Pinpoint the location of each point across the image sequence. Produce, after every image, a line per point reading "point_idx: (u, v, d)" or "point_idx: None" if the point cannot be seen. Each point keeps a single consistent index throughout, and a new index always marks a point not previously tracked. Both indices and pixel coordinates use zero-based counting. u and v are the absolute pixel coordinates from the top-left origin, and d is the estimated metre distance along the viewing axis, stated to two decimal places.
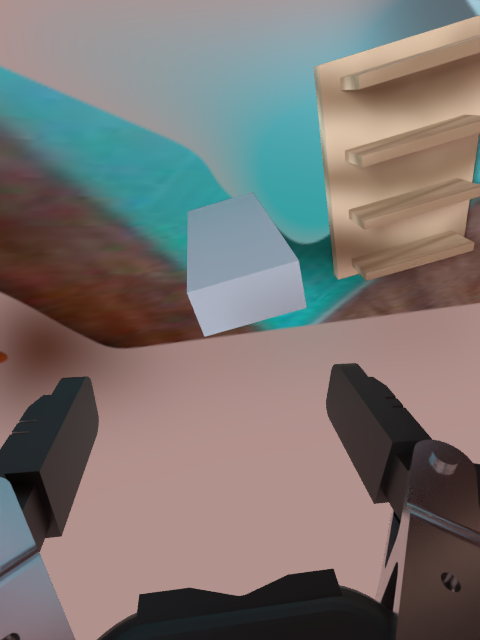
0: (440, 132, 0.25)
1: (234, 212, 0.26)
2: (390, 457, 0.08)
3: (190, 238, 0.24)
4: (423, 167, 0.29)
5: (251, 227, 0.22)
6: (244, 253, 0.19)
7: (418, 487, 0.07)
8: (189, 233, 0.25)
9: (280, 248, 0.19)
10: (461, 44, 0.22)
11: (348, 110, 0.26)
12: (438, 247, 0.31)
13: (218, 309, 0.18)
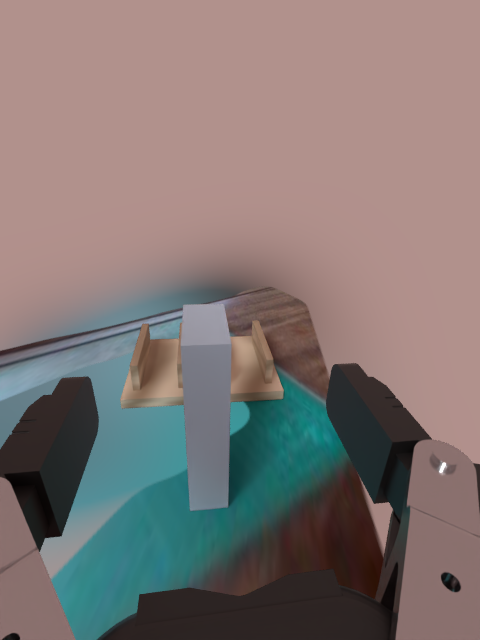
0: (179, 338, 0.42)
1: None
2: (390, 457, 0.08)
3: (186, 442, 0.23)
4: None
5: None
6: None
7: (418, 487, 0.07)
8: None
9: None
10: (139, 335, 0.42)
11: (154, 386, 0.38)
12: (255, 335, 0.44)
13: (205, 334, 0.21)
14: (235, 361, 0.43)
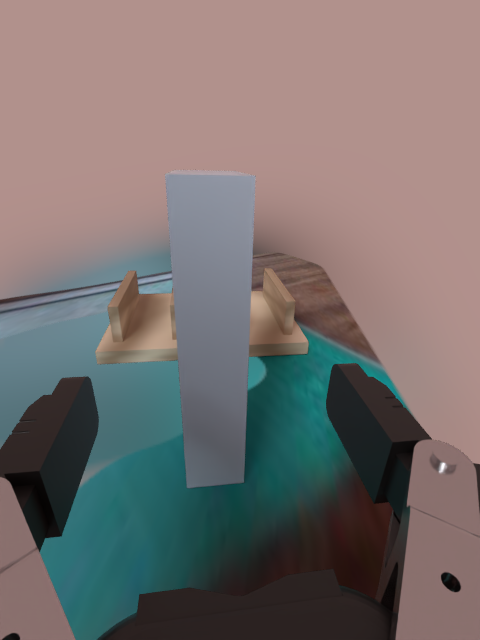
0: None
1: None
2: (390, 457, 0.08)
3: (179, 371, 0.14)
4: None
5: None
6: None
7: (418, 487, 0.07)
8: None
9: None
10: (123, 280, 0.33)
11: (141, 338, 0.29)
12: (268, 283, 0.36)
13: (209, 173, 0.12)
14: None
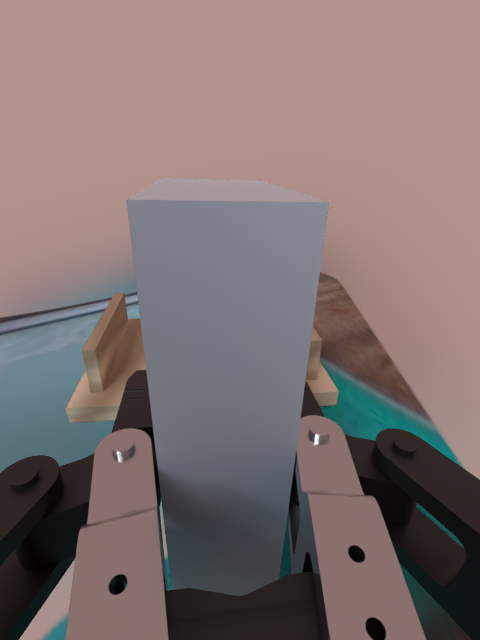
0: None
1: None
2: None
3: None
4: None
5: None
6: None
7: (306, 468, 0.07)
8: None
9: None
10: (107, 307, 0.27)
11: None
12: None
13: (224, 193, 0.06)
14: None
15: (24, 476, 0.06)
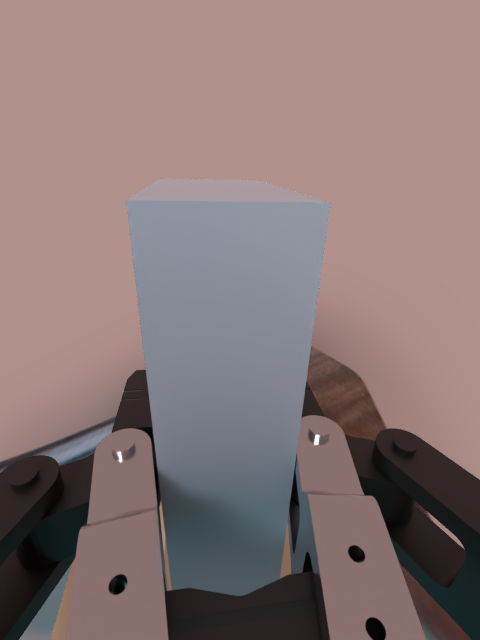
0: None
1: None
2: None
3: None
4: None
5: None
6: None
7: (306, 468, 0.07)
8: None
9: None
10: None
11: None
12: None
13: (224, 193, 0.06)
14: None
15: (24, 476, 0.07)
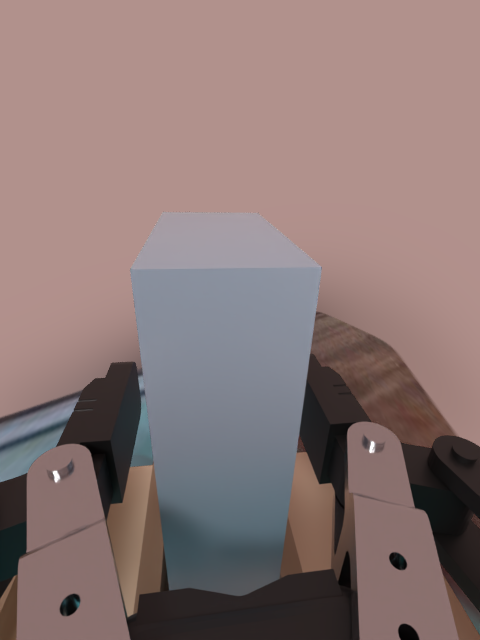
0: (146, 519, 0.14)
1: None
2: (330, 439, 0.09)
3: None
4: None
5: None
6: None
7: (356, 471, 0.07)
8: None
9: None
10: None
11: None
12: None
13: (223, 248, 0.06)
14: (311, 570, 0.15)
15: None
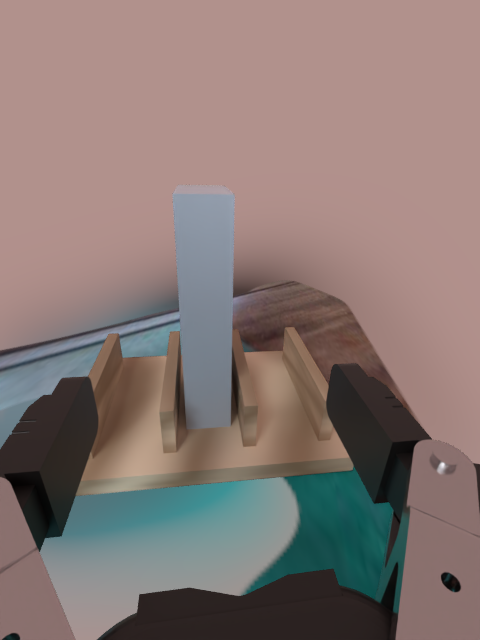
0: (167, 358, 0.25)
1: None
2: (390, 457, 0.08)
3: (181, 335, 0.20)
4: None
5: None
6: None
7: (418, 487, 0.07)
8: (182, 352, 0.20)
9: None
10: (99, 354, 0.25)
11: (119, 450, 0.21)
12: (292, 352, 0.27)
13: (203, 191, 0.17)
14: (260, 396, 0.26)
15: None
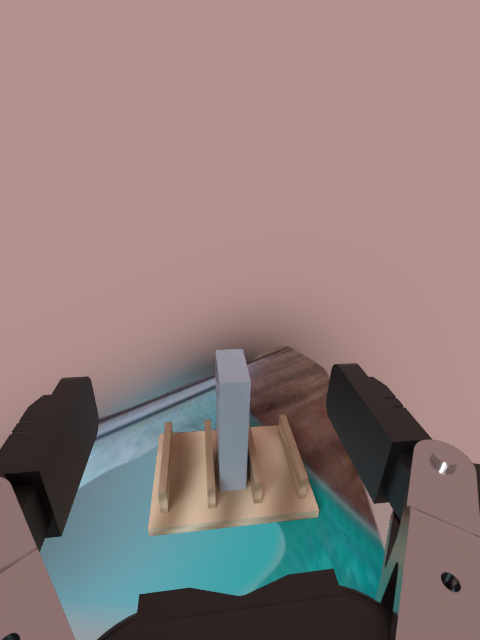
0: (205, 444, 0.40)
1: None
2: (390, 457, 0.08)
3: (219, 443, 0.35)
4: None
5: (216, 405, 0.38)
6: None
7: (418, 487, 0.07)
8: (219, 452, 0.35)
9: None
10: (163, 441, 0.40)
11: (182, 506, 0.36)
12: (284, 434, 0.42)
13: (233, 374, 0.32)
14: (263, 465, 0.41)
15: None
